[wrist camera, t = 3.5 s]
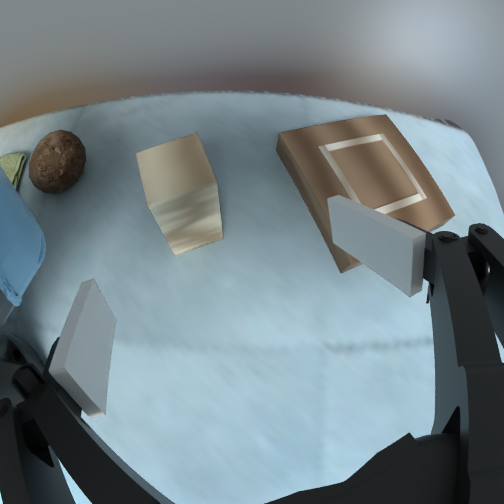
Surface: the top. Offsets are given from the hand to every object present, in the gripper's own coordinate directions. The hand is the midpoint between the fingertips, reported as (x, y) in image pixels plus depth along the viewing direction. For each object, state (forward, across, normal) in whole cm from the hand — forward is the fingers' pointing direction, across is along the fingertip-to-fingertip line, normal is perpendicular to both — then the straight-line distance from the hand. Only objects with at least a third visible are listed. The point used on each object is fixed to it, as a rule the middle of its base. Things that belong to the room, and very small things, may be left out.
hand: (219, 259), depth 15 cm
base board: (+14, +19, -4) cm, 24 cm away
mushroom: (+25, -15, +7) cm, 30 cm away
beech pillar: (+15, -1, -3) cm, 15 cm away
